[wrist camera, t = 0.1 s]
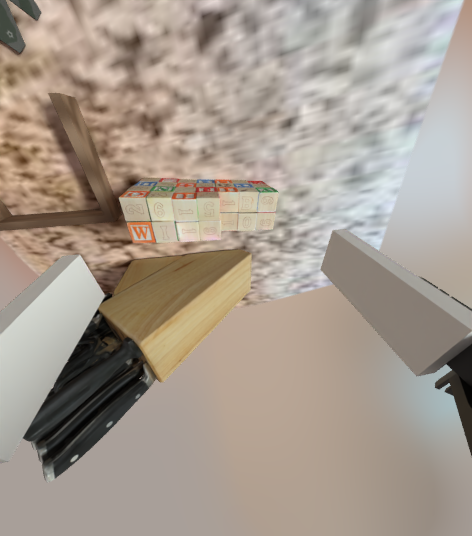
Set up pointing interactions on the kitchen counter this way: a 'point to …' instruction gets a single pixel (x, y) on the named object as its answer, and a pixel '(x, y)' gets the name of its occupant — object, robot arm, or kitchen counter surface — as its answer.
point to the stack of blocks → (196, 209)
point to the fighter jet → (5, 27)
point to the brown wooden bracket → (93, 171)
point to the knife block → (134, 347)
